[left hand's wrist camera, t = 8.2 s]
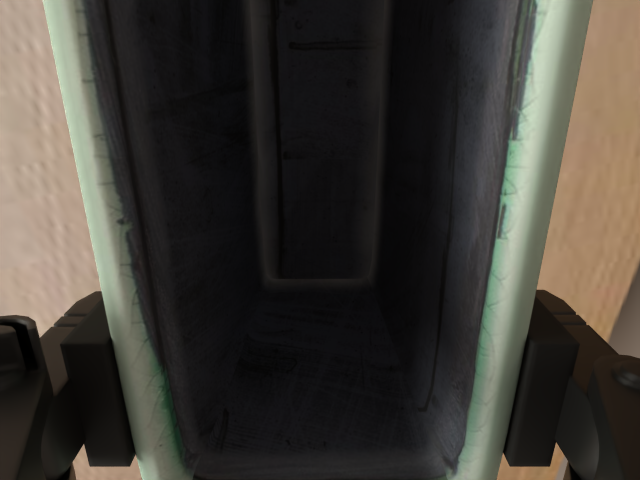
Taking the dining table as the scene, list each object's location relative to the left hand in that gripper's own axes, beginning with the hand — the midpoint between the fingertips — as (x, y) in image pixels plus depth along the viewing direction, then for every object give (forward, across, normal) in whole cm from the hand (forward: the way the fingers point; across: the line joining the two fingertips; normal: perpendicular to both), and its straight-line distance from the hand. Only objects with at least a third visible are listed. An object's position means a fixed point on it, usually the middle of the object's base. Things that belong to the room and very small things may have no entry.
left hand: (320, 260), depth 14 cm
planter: (+1, 0, -11) cm, 11 cm away
